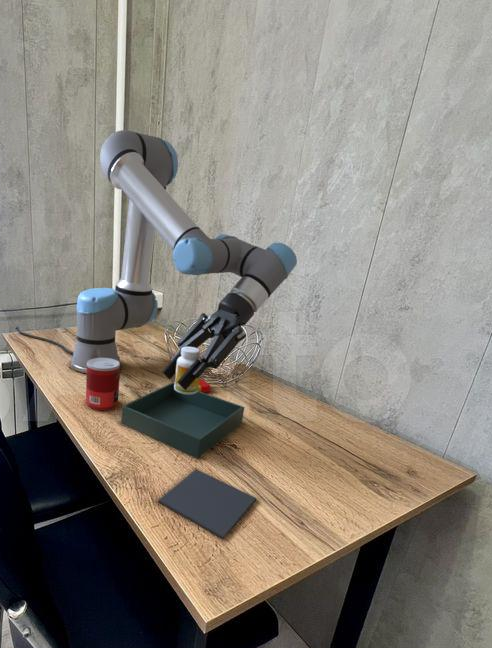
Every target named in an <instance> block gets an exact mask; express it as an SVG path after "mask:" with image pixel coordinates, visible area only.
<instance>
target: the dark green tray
mask: <svg viewBox="0 0 492 648" xmlns="http://www.w3.org/2000/svg"><path fill="white" fill-rule="evenodd" d="M174 383H175V381H172V382H170V383H168V384H165V385H164V386H162V387H160V388H158V389H155V390H154V391H151V392H149V393H146V394H145V395H143V396H140V397H138V398H137V399H134V400H131V401H129V402H128V403H126V404H124V405H122V406H121V421H120V422H121V424H122V425H124V426H126V427H127V428H130V429H132V430H135V431H136V432H139V433H140V434H143V435H146V436H148V437H150V438H152V439H154V440H156V441H158V442H161V443H162V444H165V445H168V446H169V447H171V448H173V449H176V450H178V451H180V452H182V453H184V454H186V455H189V456H190V457H193V458H195V459H199V458H201V457H202V456H203V455H204V454H206V453H207V452H208V451H209V450H211V449H212V448H213V447H214V446H216V445H217V444H218V443H219V442H221V441H222V440H223V439H225V437H227V436H228V435H230V434H231V433H232V432H234V431H235V430H236V429H237V428H238V427H239V426H241V425H242V424H243V417H244V412H245V406H242V405H241V404H240V405H239V404H236V403H234V402H230V401H229V400H225V399H222V398H221V397H217V396H213V395H211V394H208V393H206V392H203V393H202V392H199V391H197V393H195V394H191V395H185V394H181V393H178V392H177V391H175V389H174Z"/></svg>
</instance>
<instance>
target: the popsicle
mask: <svg viewBox="0 0 492 648" xmlns="http://www.w3.org/2000/svg"><path fill="white" fill-rule="evenodd" d="M211 388H212V387H211V384H210V383H208V382H207V381H206V380H204V379H201V378H199V386H198V391H199V392H202V393H209V392H210V391H211Z"/></svg>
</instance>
